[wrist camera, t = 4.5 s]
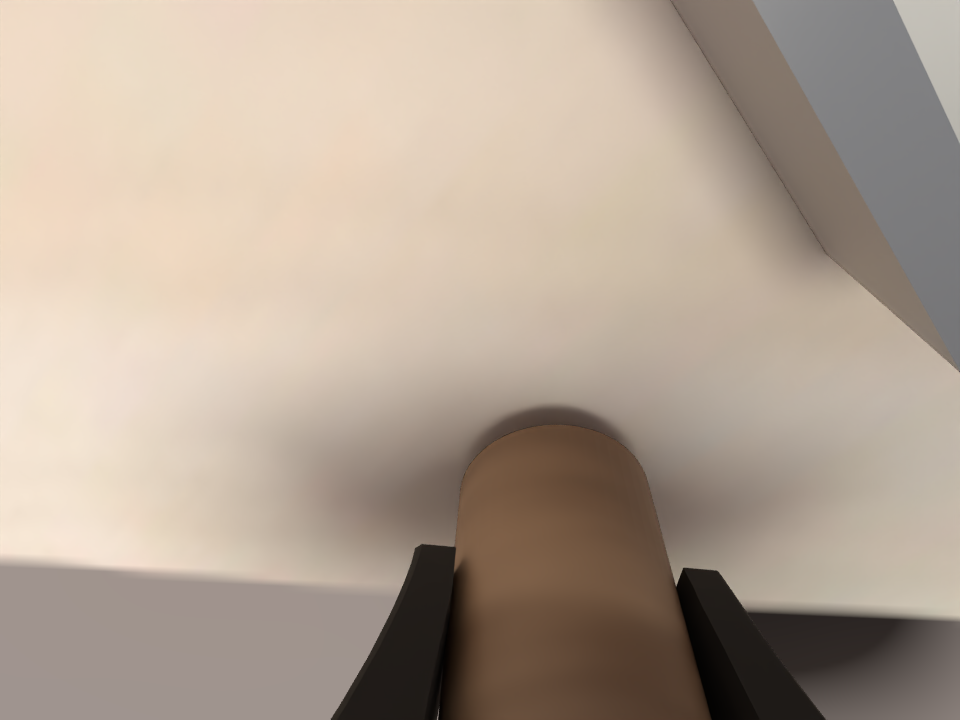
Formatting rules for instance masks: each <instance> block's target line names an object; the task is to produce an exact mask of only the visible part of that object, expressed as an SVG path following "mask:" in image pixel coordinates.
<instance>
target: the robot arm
mask: <svg viewBox="0 0 960 720" xmlns="http://www.w3.org/2000/svg"><path fill="white" fill-rule="evenodd" d="M455 555H456V547H448V546H437V545H426V544H422V545H420V546H418V547H417V548H415V552H414V555H413V559H412V562H411V565H410V568H409V571H408V574H407V576H406V579H405V582H404V584H403V586H402V589H401V591H400V593H399V596H398V598H397V600H396V602H395V605H394V607H393V609H392V611H391V613H390V615H389V618H388V619H387V621H386V623H385V625H384V627H383V629H382V631H381V633H380V635H379V637H378V639H377V641H376V643H375V645H374V647H373V649H372V651H371V653H370V655H369V656H368V658H367V660H366V662H365V663H364V665H363V667H362V668H361V670H360V672H359V673H358V675H357V677H356V679H355V680H354V682H353V684H352V686H351V687H350V689H349V691H348V692H347V694H346V696H345V697H344V699H343V701H342V702H341V704H340V706H339V708H338V709H337V710H336V712H335V714H334V715H333V717H332V718H331V720H437V716H438V710H439V704H440V695H441V685H442V674H443V664H444V654H445V647H446V640H447V633H448V627H449V619H450V609H451V598H452V587H453V577H454V566H455ZM676 589H677V593H678V596H679V600H680V604H681V608H682V611H683V615H684V619H685V622H686V626H687V630H688V634H689V637H690V641H691V645H692V648H693V652H694V656H695V660H696V663H697V667H698V671H699V675H700V678H701V682H702V686H703V689H704V693H705V697H706V701H707V704H708V708H709V712H710V715H711V719H712V720H826V719H825V718H824V716H823V715H822V714H821V713H820V711H819V710H818V709H817V708H816V706H815V705H814V704H813V702H812V701H811V700H810V698H809V697H808V696H807V695H806V693H805V692H804V691H803V689H802V688H801V687H800V685H799V684H798V683H797V681H796V680H795V679H794V677H793V676H792V675H791V673H790V672H789V671H788V669H787V668H786V667H785V665H784V664H783V663H782V661H781V660H780V658H779V657H778V656H777V654H776V653H775V652H774V650H773V649H772V648H771V646H770V645H769V643H768V642H767V640H766V639H765V638H764V636H763V635H762V633H761V632H760V631H759V629H758V628H757V626H756V625H755V623H754V622H753V621H752V619H751V618H750V616H749V615H748V613H747V612H746V611H745V609H744V608H743V606H742V605H741V603H740V602H739V600H738V599H737V598H736V596H735V595H734V593H733V592H732V590H731V589H730V587H729V586H728V584H727V583H726V582H725V580H724V579H723V577H722V576H721V575H720V573H719V572H718V571H714V570H703V569H692V568H683V570H682V573H681V575H680V578H679V581H678V584H677V586H676Z"/></svg>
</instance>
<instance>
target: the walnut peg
mask: <svg viewBox="0 0 960 720" xmlns="http://www.w3.org/2000/svg"><path fill="white" fill-rule="evenodd" d="M455 547H456V555H455V566H454V577H453V587H452V598H451V609H450V619H449V627H448V633H447V640H446V647H445V654H444V664H443V674H442V685H441V695H440V705H439V717H438V720H712V719H711V715H710V712H709V708H708V704H707V701H706V697H705V693H704V689H703V686H702V682H701V678H700V675H699V671H698V667H697V663H696V660H695V656H694V652H693V648H692V645H691V641H690V637H689V634H688V630H687V626H686V622H685V619H684V615H683V611H682V608H681V604H680V600H679V596H678V593H677V589H676V585H675V582H674V578H673V574H672V570H671V567H670V563H669V559H668V556H667V552H666V548H665V544H664V541H663V537H662V533H661V530H660V526H659V522H658V518H657V515H656V511H655V507H654V503H653V500H652V496H651V492H650V489H649V485H648V481H647V478H646V475H645V472H644V470H643V468H642V466H641V465H640V463H639V462H638V460H637V459H636V458H635V456H634V455H633V454H632V453H631V452H630V451H629V450H628V449H627V448H626V447H624V446H623V445H622V444H620V443H619V442H617V441H616V440H614V439H612V438H610V437H608V436H607V435H605V434H602V433H599V432H597V431H594V430H591V429H587V428H583V427H578V426H571V425H541V426H535V427H530V428H526V429H522V430H519V431H515V432H513V433H510V434H508V435H506V436H503V437H502V438H500V439H498V440H496V441H494V442H493V443H491V444H490V445H489V446H487V447H486V448H485V449H483V450H482V451H481V452H480V453H479V454H478V455H477V456H476V457H475V459H474V460H473V461H472V463H471V464H470V465H469V467H468V469H467V471H466V472H465V475H464V477H463V480H462V484H461V489H460V498H459V508H458V519H457V529H456V540H455Z"/></svg>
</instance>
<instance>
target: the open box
mask: <svg viewBox="0 0 960 720" xmlns="http://www.w3.org/2000/svg"><path fill="white" fill-rule="evenodd" d="M671 2H672V3H673V5H674V6H675V8H676V10H677V11H678V13H679V15H680V16H681V18H682V19H683V21H684V23H685V24H686V26H687V28H688V29H689V31H690V32H691V34H692V36H693V37H694V39H695V41H696V42H697V44H698V46H699V47H700V49H701V50H702V52H703V54H704V55H705V57H706V59H707V60H708V62H709V63H710V65H711V67H712V68H713V70H714V72H715V73H716V75H717V76H718V78H719V80H720V81H721V83H722V85H723V86H724V88H725V89H726V91H727V93H728V94H729V96H730V98H731V99H732V101H733V103H734V104H735V106H736V107H737V109H738V111H739V112H740V114H741V116H742V117H743V119H744V120H745V122H746V124H747V125H748V127H749V129H750V130H751V132H752V133H753V135H754V137H755V138H756V140H757V142H758V143H759V145H760V147H761V148H762V150H763V151H764V153H765V155H766V156H767V158H768V160H769V161H770V163H771V164H772V166H773V168H774V169H775V171H776V173H777V174H778V176H779V177H780V179H781V181H782V182H783V184H784V186H785V187H786V189H787V190H788V192H789V194H790V195H791V197H792V199H793V200H794V202H795V204H796V205H797V207H798V208H799V210H800V212H801V213H802V215H803V217H804V218H805V220H806V221H807V223H808V225H809V226H810V228H811V230H812V231H813V233H814V234H815V236H816V238H817V239H818V241H819V243H820V244H821V246H822V247H823V249H824V251H825V252H826V254H827V255H828V256H829V257H830V258H832V259H833V260H834V261H835V262H836V263H837V264H838V265H839V266H841V267H842V268H843V269H844V270H845V271H846V272H847V273H848V274H850V275H851V276H852V277H853V278H854V279H855V280H856V281H858V282H859V283H860V284H861V285H862V286H863V287H864V288H865V289H867V290H868V291H869V292H870V293H871V294H872V295H873V296H874V297H876V298H877V299H878V300H879V301H880V302H881V303H882V304H883V305H885V306H886V307H887V308H888V309H889V310H890V311H891V312H893V313H894V314H895V315H896V316H897V317H898V318H899V319H900V320H902V321H903V322H904V323H905V324H906V325H907V326H908V327H909V328H911V329H912V330H913V331H914V332H915V333H916V334H917V335H919V336H920V337H921V338H922V339H923V340H924V341H925V342H926V343H928V344H929V345H930V346H931V347H932V348H933V349H934V350H935V351H937V352H938V353H939V354H940V355H941V356H942V357H943V358H944V359H946V360H947V361H948V362H949V363H950V364H951V365H952V366H954V367H955V368H956V369H957V370H958V371H959V372H960V0H671Z"/></svg>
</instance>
